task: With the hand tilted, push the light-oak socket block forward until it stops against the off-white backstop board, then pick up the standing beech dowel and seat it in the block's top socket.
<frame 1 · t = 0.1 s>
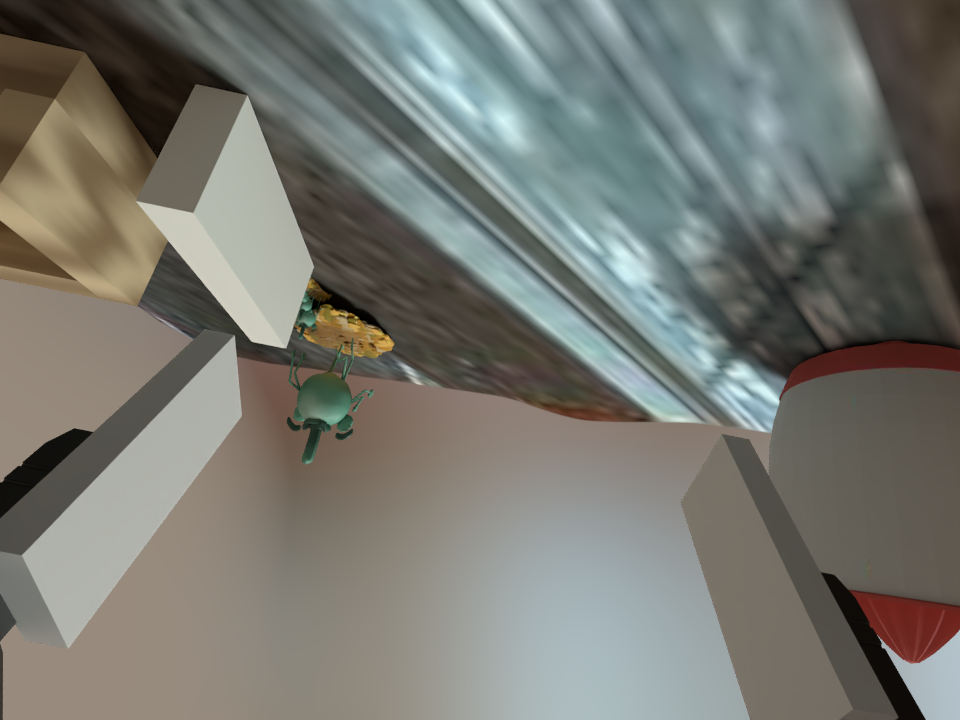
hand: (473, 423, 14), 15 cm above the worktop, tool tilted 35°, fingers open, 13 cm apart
block: (11, 174, 28), point 4 cm above the worktop, slide at 0.0 cm
green yellow irregular piece: (346, 318, 49), on the worktop
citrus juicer: (865, 370, 40), on the worktop
backstop: (268, 196, 32), on the worktop
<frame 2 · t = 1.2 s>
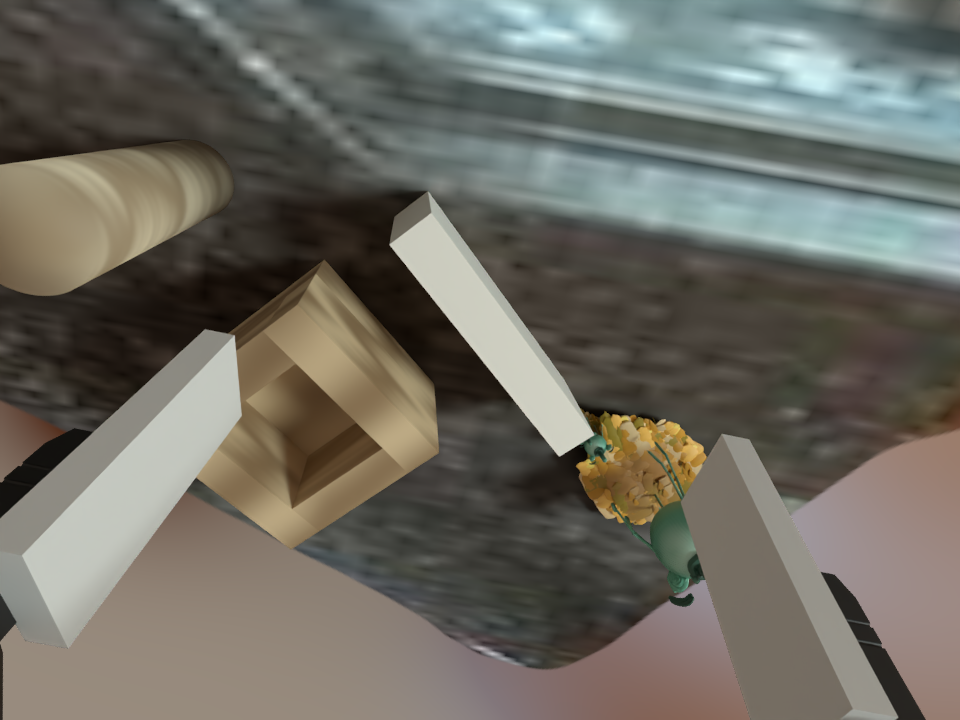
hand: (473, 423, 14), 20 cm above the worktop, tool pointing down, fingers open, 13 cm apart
block: (307, 402, 31), point 4 cm above the worktop, slide at 0.0 cm
green yellow irregular piece: (635, 457, 41), on the worktop
backstop: (487, 305, 34), on the worktop
dowel: (195, 178, 28), on the worktop
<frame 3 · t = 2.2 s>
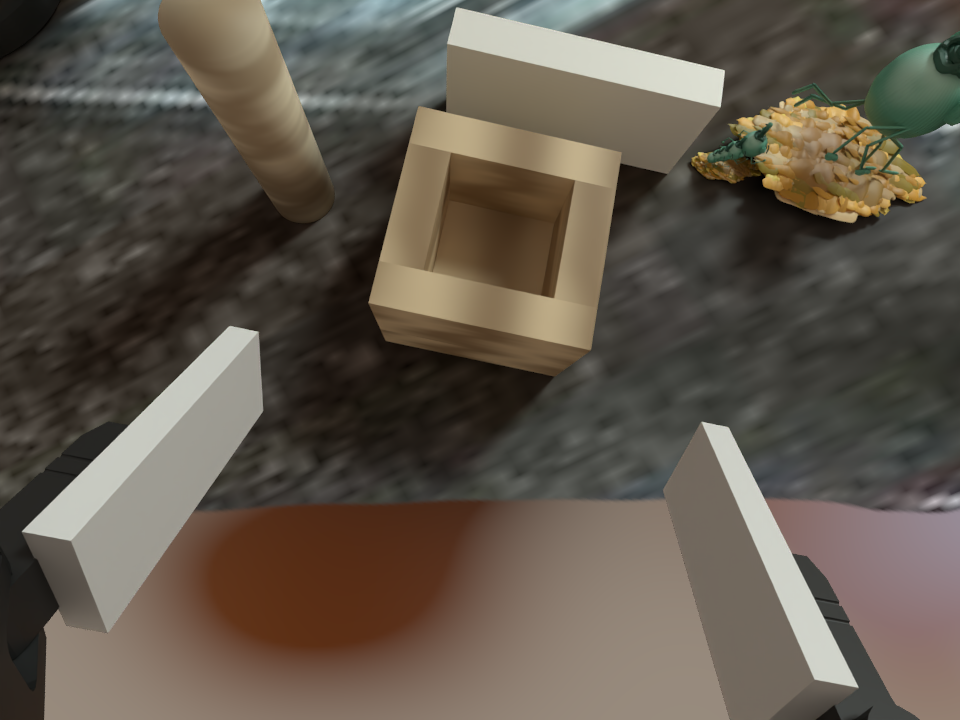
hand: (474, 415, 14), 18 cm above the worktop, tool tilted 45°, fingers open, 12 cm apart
block: (493, 254, 30), point 4 cm above the worktop, slide at 0.0 cm
green yellow irregular piece: (805, 164, 38), on the worktop
backstop: (560, 133, 36), on the worktop
dowel: (303, 195, 34), on the worktop
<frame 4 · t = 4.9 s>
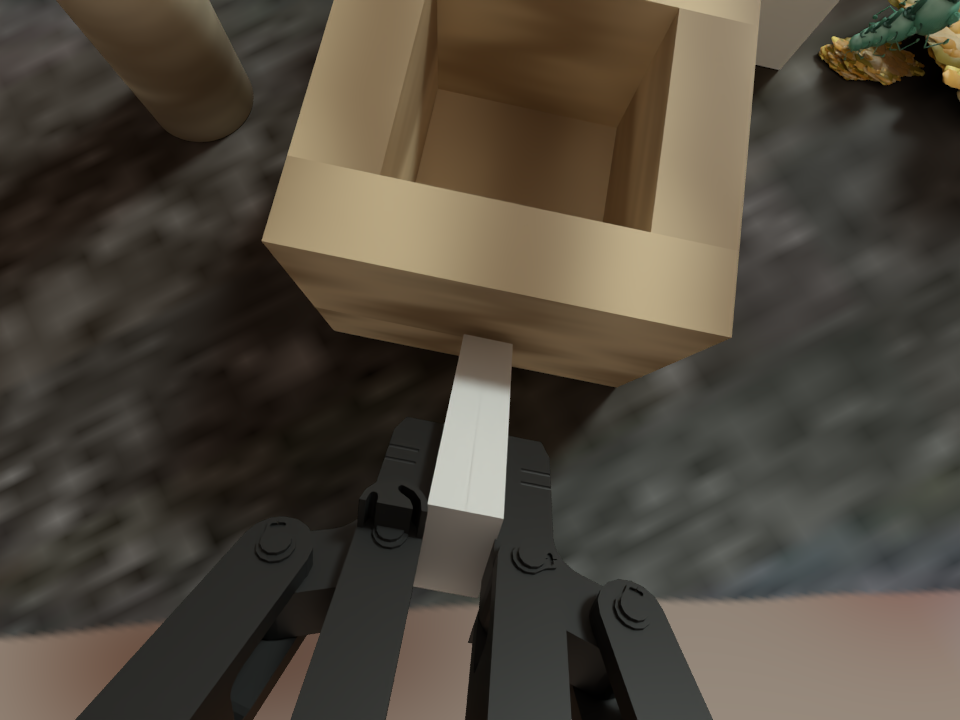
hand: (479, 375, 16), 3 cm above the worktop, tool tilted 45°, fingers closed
block: (516, 174, 17), point 4 cm above the worktop, slide at 0.1 cm, touching gripper
backstop: (612, 8, 23), on the worktop
dowel: (202, 98, 21), on the worktop
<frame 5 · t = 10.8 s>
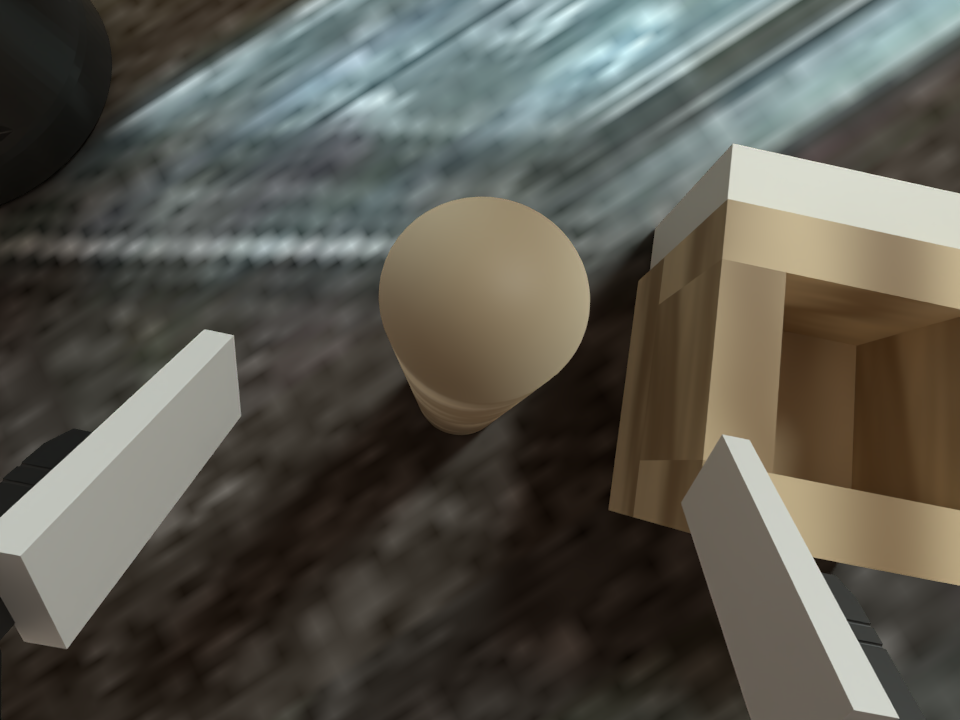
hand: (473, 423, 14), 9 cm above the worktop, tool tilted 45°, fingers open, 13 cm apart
block: (794, 403, 20), point 4 cm above the worktop, slide at 4.6 cm, touching gripper
backstop: (805, 283, 26), on the worktop
dowel: (460, 390, 23), on the worktop
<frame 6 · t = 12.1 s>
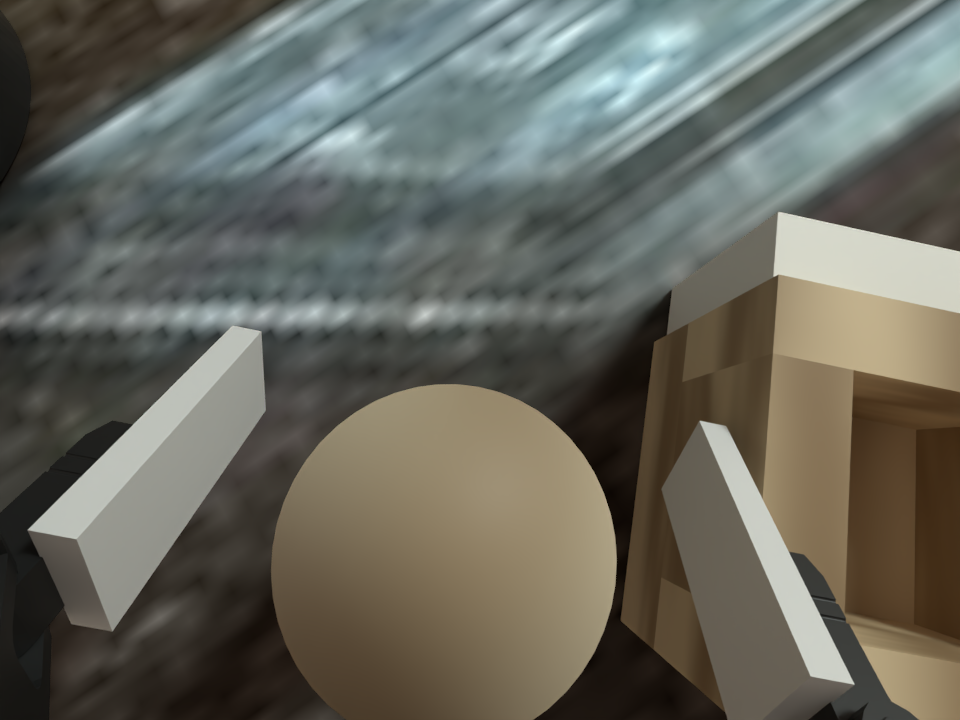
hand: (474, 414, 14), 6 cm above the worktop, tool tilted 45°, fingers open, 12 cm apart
block: (848, 508, 17), point 4 cm above the worktop, slide at 5.0 cm, touching backstop, gripper
backstop: (846, 353, 22), on the worktop
dowel: (443, 489, 20), on the worktop
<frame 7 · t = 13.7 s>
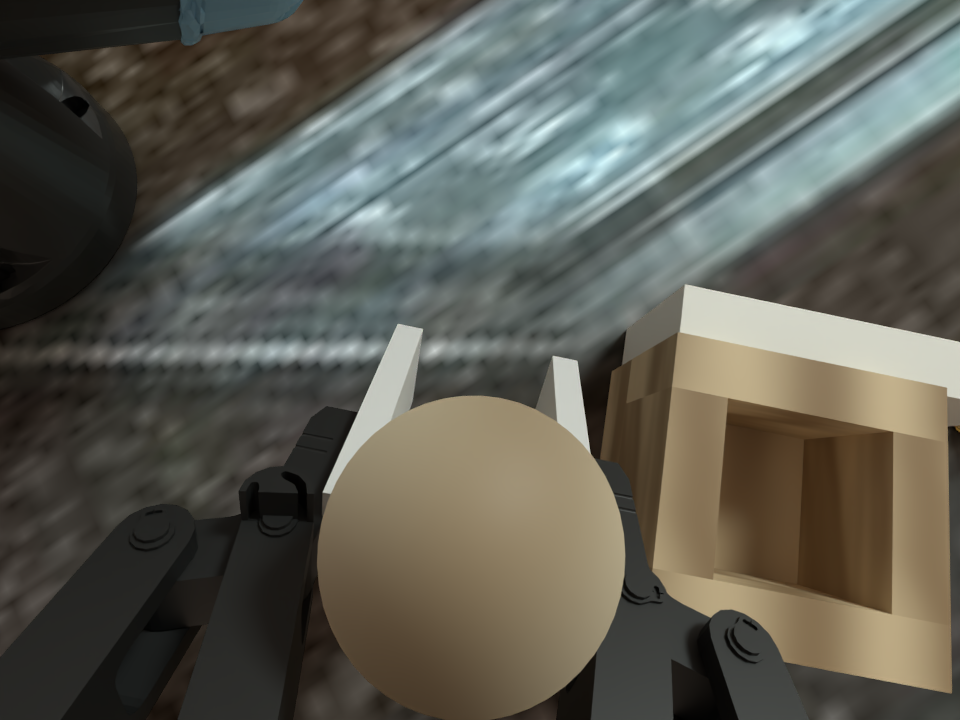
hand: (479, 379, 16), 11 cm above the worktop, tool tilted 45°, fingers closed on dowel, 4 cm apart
block: (744, 497, 23), point 4 cm above the worktop, slide at 5.0 cm, touching backstop
backstop: (764, 379, 28), on the worktop
dowel: (451, 491, 20), point 6 cm above the worktop, touching gripper
when the fingers open (9 cm above the worktop, at t = 17.6 s): dowel stays where it is, resting on block.
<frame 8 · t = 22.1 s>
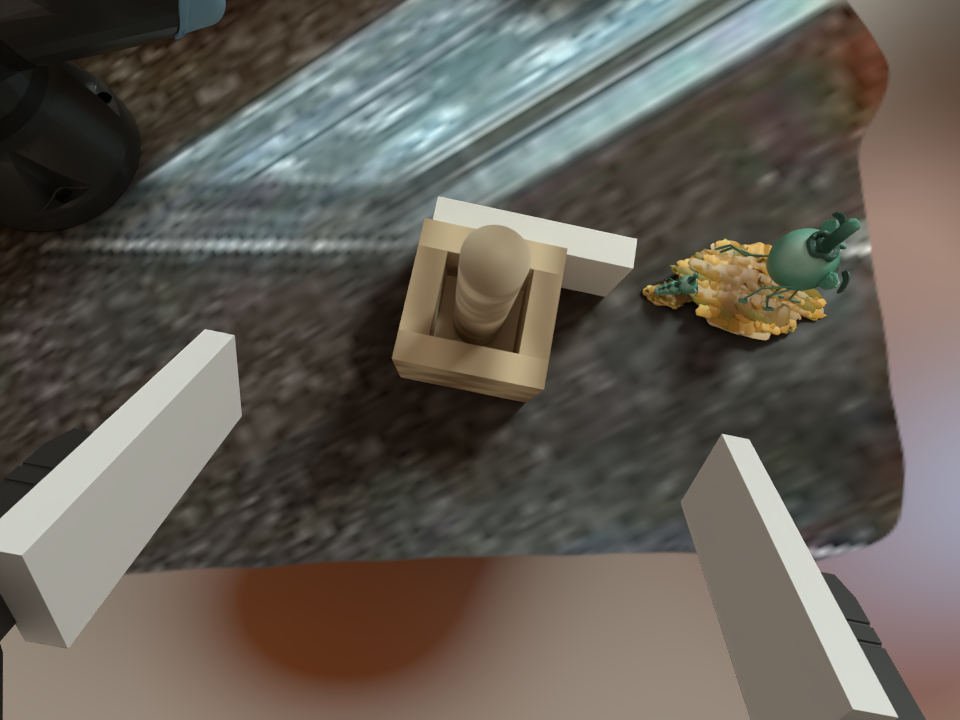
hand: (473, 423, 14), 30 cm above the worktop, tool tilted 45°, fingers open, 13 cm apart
block: (478, 316, 41), point 4 cm above the worktop, slide at 5.0 cm, touching dowel
green yellow irregular piece: (732, 289, 48), on the worktop
backstop: (521, 266, 47), on the worktop
dowel: (477, 322, 42), point 3 cm above the worktop, touching block
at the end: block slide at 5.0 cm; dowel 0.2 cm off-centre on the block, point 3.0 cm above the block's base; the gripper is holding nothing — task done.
